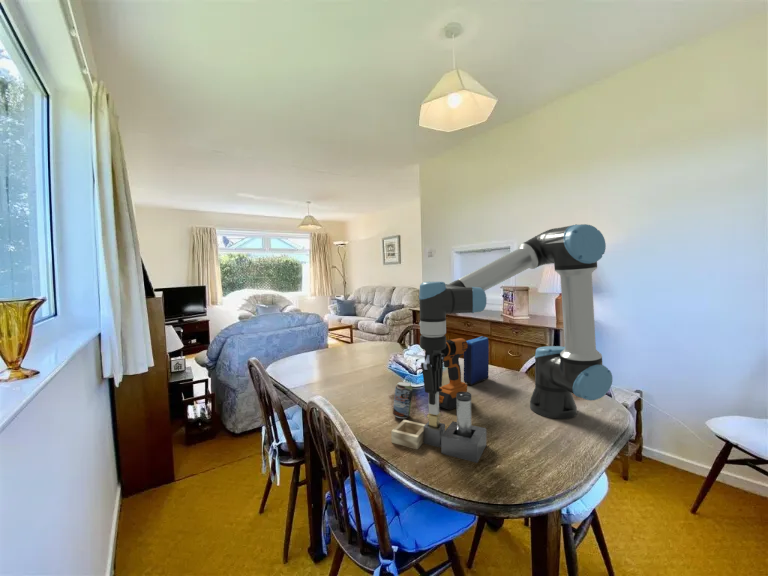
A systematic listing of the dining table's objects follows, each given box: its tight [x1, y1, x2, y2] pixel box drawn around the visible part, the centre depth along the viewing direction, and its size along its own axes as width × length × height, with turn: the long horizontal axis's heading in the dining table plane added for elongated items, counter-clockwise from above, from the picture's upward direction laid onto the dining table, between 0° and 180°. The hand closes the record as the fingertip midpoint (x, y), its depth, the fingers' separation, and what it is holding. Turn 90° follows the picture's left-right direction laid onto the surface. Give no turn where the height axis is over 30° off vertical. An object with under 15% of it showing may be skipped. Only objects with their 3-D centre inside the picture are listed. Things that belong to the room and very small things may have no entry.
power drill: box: [438, 337, 468, 411], centre depth 129 cm, size 22×7×25 cm, turn 129°
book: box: [463, 335, 490, 386], centre depth 155 cm, size 14×5×20 cm, turn 130°
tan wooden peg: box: [426, 412, 442, 429], centre depth 101 cm, size 3×3×8 cm
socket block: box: [423, 420, 487, 464], centre depth 99 cm, size 16×10×6 cm, turn 60°
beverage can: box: [392, 381, 413, 419], centre depth 121 cm, size 6×7×12 cm
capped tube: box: [456, 391, 472, 438], centre depth 97 cm, size 4×4×16 cm
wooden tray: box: [390, 419, 426, 450], centre depth 103 cm, size 8×8×4 cm
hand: (433, 413), depth 101 cm, fingers closed
